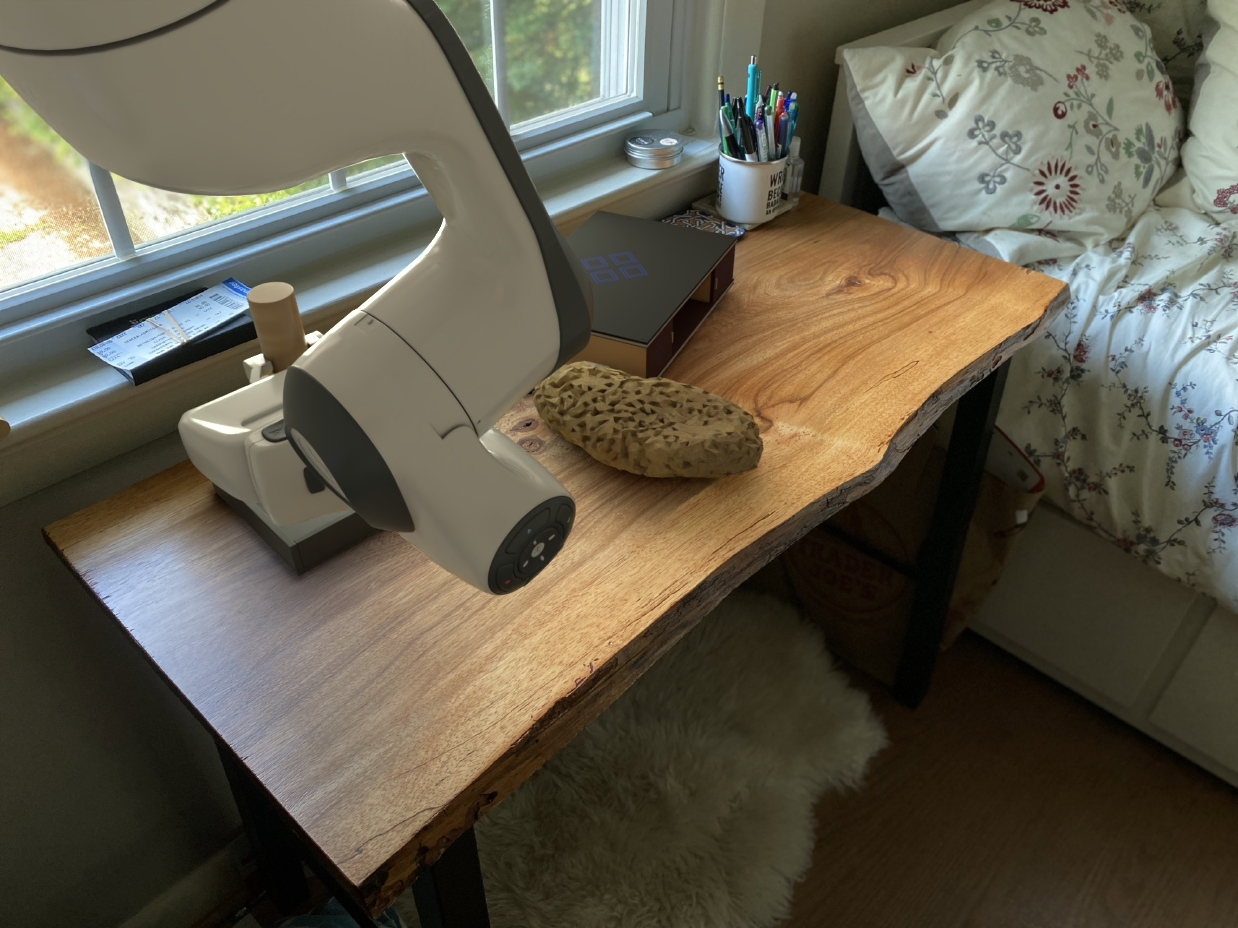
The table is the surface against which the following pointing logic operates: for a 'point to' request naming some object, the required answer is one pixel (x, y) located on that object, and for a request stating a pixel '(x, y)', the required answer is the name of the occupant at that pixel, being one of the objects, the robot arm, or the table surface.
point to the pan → (303, 533)
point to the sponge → (648, 423)
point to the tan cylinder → (277, 323)
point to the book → (648, 288)
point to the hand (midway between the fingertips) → (281, 354)
